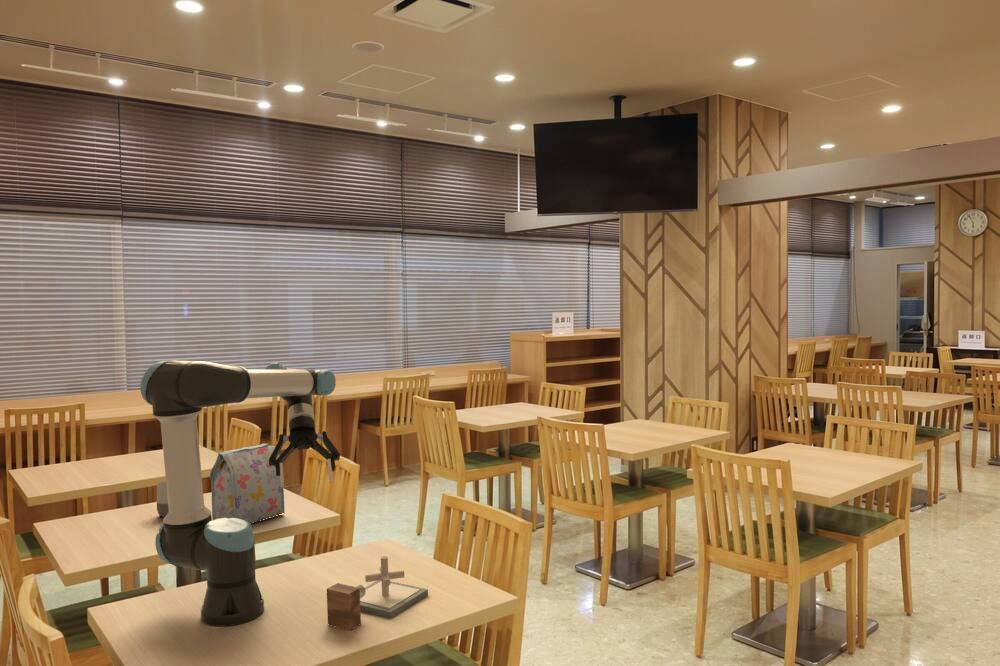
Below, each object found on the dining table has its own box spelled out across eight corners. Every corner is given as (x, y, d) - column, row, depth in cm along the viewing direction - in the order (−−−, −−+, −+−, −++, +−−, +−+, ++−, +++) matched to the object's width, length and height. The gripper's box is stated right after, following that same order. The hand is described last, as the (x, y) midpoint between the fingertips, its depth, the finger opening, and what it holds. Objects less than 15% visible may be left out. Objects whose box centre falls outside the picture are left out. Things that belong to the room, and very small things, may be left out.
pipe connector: (402, 585, 204) (400, 549, 203) (407, 599, 194) (405, 561, 194) (364, 590, 201) (363, 553, 201) (367, 605, 192) (366, 566, 191)
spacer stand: (364, 634, 179) (363, 597, 178) (314, 621, 187) (312, 585, 186) (428, 594, 201) (427, 561, 201) (380, 584, 209) (379, 552, 209)
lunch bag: (260, 508, 287) (257, 439, 286) (289, 515, 278) (286, 443, 276) (207, 524, 269) (203, 450, 268) (236, 531, 259) (232, 455, 258)
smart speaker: (179, 510, 288) (178, 473, 287) (188, 515, 281) (187, 477, 280) (153, 515, 281) (151, 478, 280) (162, 520, 274) (160, 482, 274)
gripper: (342, 425, 237) (349, 485, 224) (258, 431, 229) (261, 493, 216) (343, 411, 231) (351, 471, 218) (258, 417, 223) (261, 479, 210)
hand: (306, 482), depth 217 cm, fingers open, 13 cm apart
